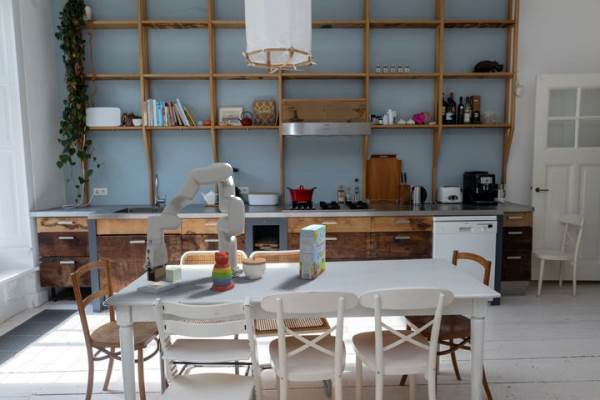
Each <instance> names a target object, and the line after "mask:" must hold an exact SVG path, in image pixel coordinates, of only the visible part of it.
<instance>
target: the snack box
mask: <svg viewBox="0 0 600 400" xmlns="http://www.w3.org/2000/svg"><path fill="white" fill-rule="evenodd" d="M326 230H327V227H326V225H324V224H310V225H308V226H307V225H306V226H305V227H303V228H301V229H300V230H299V276H298V277H299V278H298V279H304V280H310V281H312V280H315V279H316V278H317V277H319V276H320V275H321V274H322V273H324V272H326V241H327V240H326V232H327V231H326Z"/></svg>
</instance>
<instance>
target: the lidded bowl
mask: <svg viewBox="0 0 600 400" xmlns="http://www.w3.org/2000/svg"><path fill="white" fill-rule="evenodd" d="M241 264H242V270H243V274H244V275H245V276H246V277H247V279H250V280H258V279H261V278H262V276H264V274H265V273H266V270H267V259H266V258H264V257H256V255H253V256H252V257H248V258H244V259H242V261H241Z"/></svg>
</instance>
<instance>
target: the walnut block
mask: <svg viewBox="0 0 600 400" xmlns="http://www.w3.org/2000/svg"><path fill="white" fill-rule="evenodd" d="M151 268H152V267H151ZM166 269H167V266H166V267H163V266H157V267H154V271H153V273H154V281H151V282H152V283H154V282H159V281H164V280H165V279H166ZM146 277H147V279H146V281H147V282H150V281H149V277H148V272H147V271H146Z"/></svg>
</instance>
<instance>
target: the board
mask: <svg viewBox="0 0 600 400" xmlns="http://www.w3.org/2000/svg"><path fill="white" fill-rule="evenodd" d="M176 287H178V283H176V282H170V281H164V280H162V281H159V282H152V283H147V284H146V285H145V284H144V285H142V286H140V287H137V288H136V292H143V293H149V294H156V295H157V294H160V293H162V292H164V291H167V290H170V289H174V288H176Z"/></svg>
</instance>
